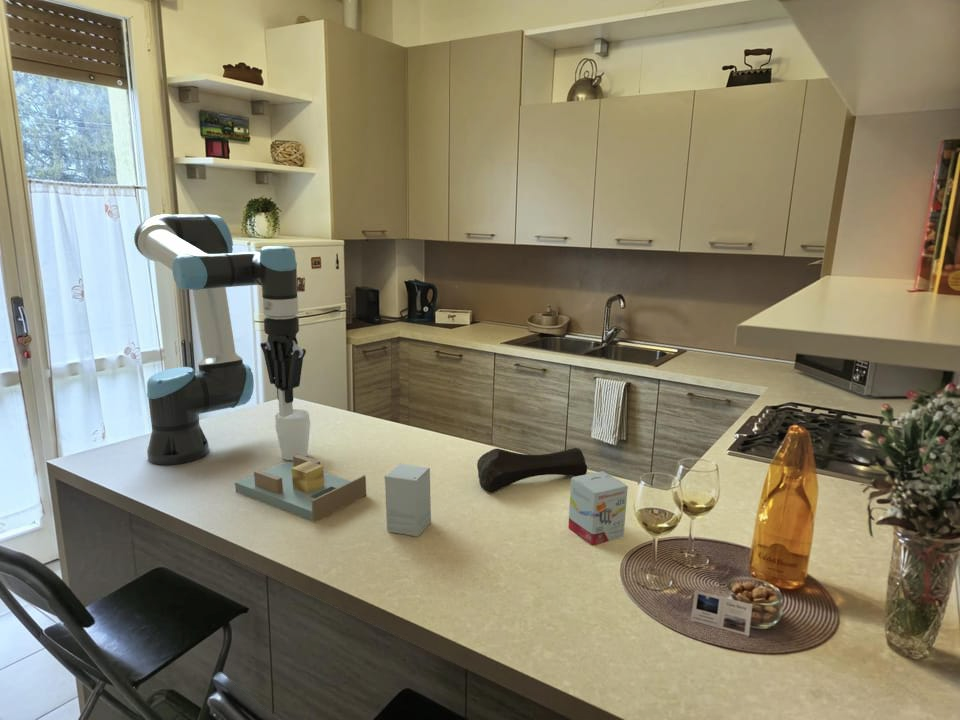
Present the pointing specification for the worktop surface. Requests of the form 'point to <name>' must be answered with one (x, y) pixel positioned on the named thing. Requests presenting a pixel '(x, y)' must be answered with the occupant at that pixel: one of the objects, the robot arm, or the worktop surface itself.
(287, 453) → the cup
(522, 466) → the dark brown bone
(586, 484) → the ink box
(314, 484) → the ochre block
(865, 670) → the worktop surface
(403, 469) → the supplement box
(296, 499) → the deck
